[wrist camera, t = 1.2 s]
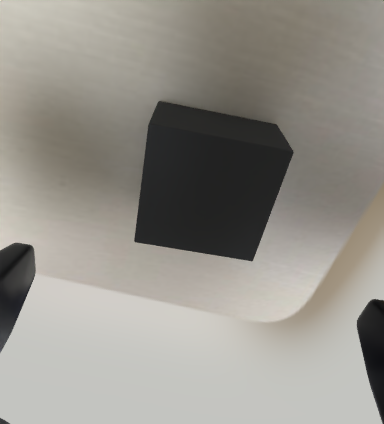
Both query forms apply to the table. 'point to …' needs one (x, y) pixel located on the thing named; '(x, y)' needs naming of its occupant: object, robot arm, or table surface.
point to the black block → (209, 181)
